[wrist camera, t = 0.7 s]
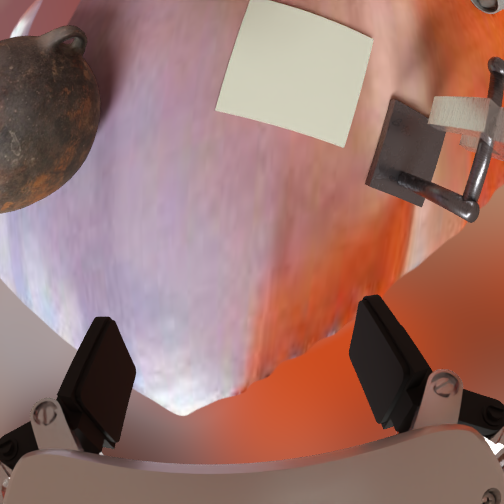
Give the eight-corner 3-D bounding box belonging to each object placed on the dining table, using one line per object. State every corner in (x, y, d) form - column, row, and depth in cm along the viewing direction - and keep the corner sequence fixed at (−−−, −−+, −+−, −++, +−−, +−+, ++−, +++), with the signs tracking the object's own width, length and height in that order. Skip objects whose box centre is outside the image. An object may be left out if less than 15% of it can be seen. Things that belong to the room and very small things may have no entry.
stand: (402, 49, 30) (480, 31, 15) (451, 82, 32) (528, 83, 17) (365, 184, 40) (435, 224, 24) (416, 204, 42) (487, 248, 26)
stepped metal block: (434, 96, 26) (518, 101, 13) (473, 125, 27) (550, 143, 15) (427, 123, 28) (512, 138, 15) (467, 150, 29) (543, 175, 16)
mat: (251, -2, 27) (251, -4, 26) (370, 40, 30) (373, 39, 29) (215, 110, 34) (215, 110, 33) (341, 147, 37) (343, 147, 36)
